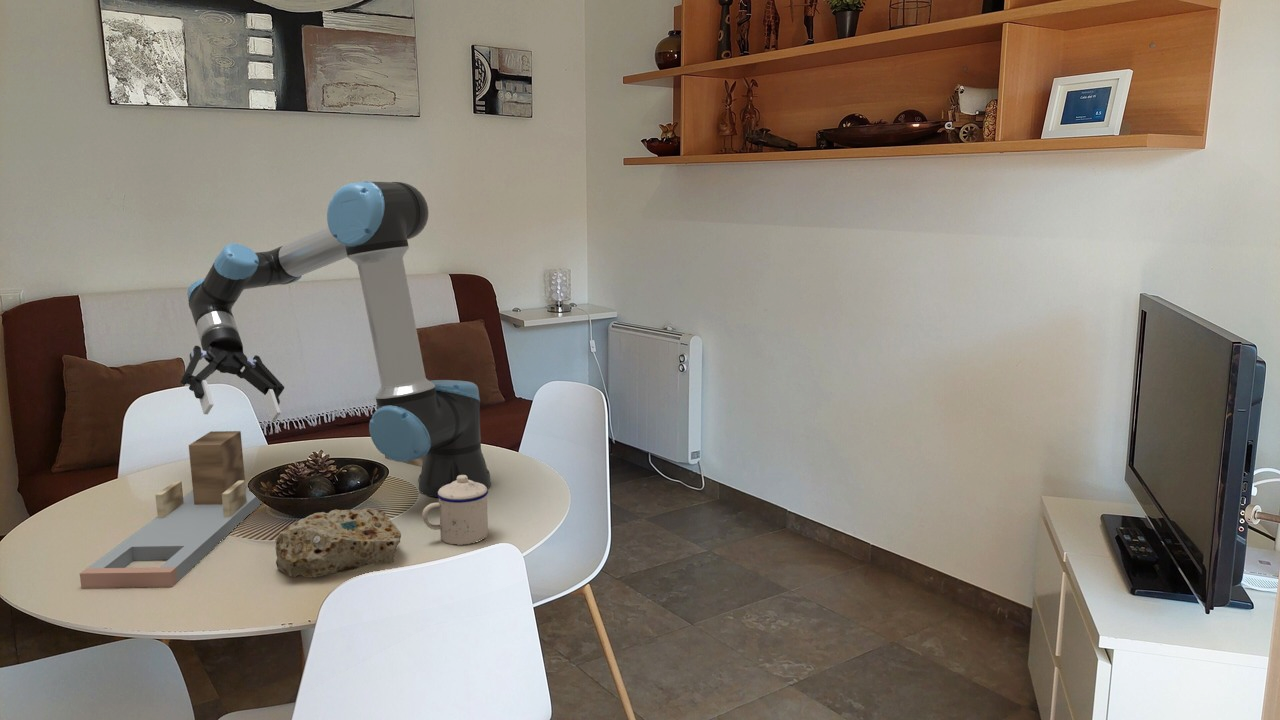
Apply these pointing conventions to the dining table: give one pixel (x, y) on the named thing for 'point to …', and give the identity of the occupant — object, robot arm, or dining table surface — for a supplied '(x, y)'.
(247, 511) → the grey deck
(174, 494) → the beech tunnel walls
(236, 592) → the dining table surface
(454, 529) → the teacup with lid
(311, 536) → the rock
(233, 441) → the walnut block
